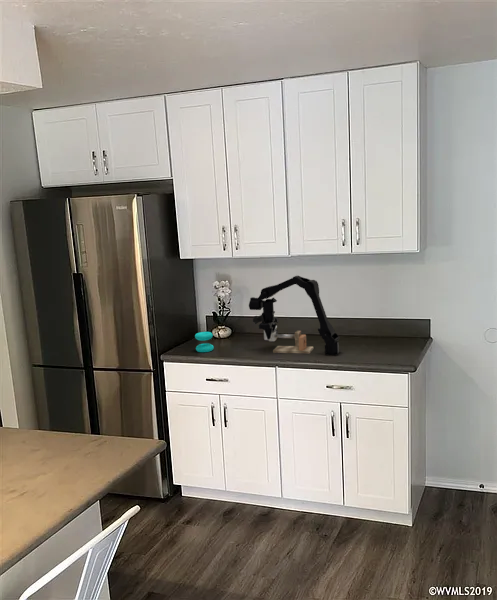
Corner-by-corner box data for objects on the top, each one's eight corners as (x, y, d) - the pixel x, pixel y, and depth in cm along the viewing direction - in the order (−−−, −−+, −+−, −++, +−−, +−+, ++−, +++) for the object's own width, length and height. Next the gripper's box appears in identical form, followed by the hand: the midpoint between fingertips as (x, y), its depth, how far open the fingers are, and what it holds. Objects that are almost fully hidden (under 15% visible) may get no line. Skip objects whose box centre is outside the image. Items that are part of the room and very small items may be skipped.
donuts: (191, 333, 339) (207, 330, 344) (193, 350, 341) (208, 347, 346) (199, 336, 331) (215, 333, 336) (200, 353, 332) (217, 350, 337)
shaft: (295, 339, 327) (295, 330, 327) (294, 341, 324) (293, 332, 323) (271, 339, 332) (270, 330, 331) (269, 341, 328) (268, 332, 327)
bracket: (313, 348, 328) (312, 329, 327) (309, 353, 319) (308, 334, 317) (278, 347, 335) (277, 329, 333) (273, 352, 325) (272, 333, 324)
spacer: (306, 347, 328) (305, 334, 327) (303, 350, 321) (303, 337, 320) (302, 347, 329) (301, 334, 327) (299, 350, 322) (298, 337, 321)
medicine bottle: (276, 340, 353) (275, 320, 351) (264, 340, 355) (263, 320, 353) (278, 337, 360) (277, 317, 358) (266, 337, 362) (265, 317, 360)
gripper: (259, 307, 338) (260, 334, 341) (248, 313, 321) (250, 342, 324) (278, 307, 335) (279, 334, 338) (268, 313, 318) (270, 342, 320)
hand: (269, 338), depth 330 cm, fingers closed on shaft, 4 cm apart
